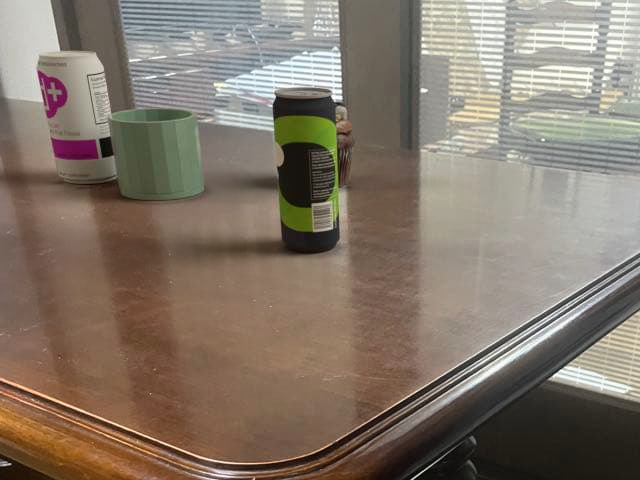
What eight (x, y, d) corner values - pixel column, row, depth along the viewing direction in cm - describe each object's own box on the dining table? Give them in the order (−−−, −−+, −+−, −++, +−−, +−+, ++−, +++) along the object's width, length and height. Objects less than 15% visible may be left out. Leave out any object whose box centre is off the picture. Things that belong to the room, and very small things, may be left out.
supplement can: (76, 188, 115) (50, 58, 107) (49, 177, 120) (23, 53, 112) (132, 178, 120) (112, 54, 111) (104, 168, 125) (83, 48, 116)
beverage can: (344, 238, 97) (339, 87, 88) (334, 255, 92) (329, 96, 83) (288, 236, 97) (279, 86, 89) (276, 253, 92) (265, 95, 84)
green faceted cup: (102, 195, 112) (89, 118, 107) (152, 178, 120) (141, 105, 115) (174, 203, 109) (164, 124, 104) (220, 185, 117) (212, 111, 112)
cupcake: (301, 172, 124) (296, 93, 118) (365, 177, 121) (364, 97, 116) (272, 187, 116) (266, 104, 111) (340, 193, 114) (337, 108, 108)
